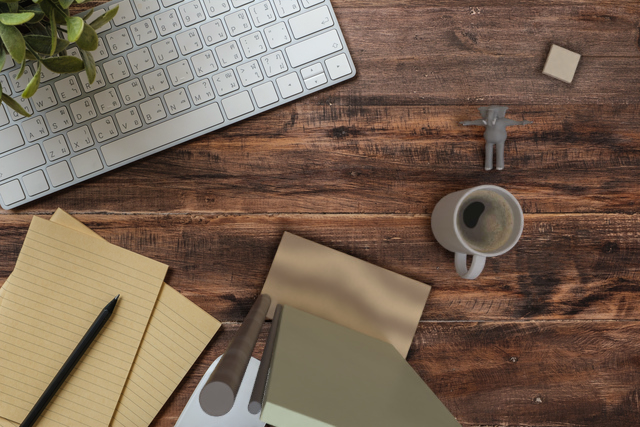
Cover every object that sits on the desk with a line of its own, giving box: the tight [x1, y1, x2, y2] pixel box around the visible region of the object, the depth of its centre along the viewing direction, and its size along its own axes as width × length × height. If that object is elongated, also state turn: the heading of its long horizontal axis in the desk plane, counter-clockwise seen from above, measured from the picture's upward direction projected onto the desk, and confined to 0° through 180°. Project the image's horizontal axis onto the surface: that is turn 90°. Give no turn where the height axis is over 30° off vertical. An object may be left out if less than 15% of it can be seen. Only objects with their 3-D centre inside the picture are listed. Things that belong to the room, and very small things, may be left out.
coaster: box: [541, 43, 582, 84], centre depth 70 cm, size 4×4×1 cm
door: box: [247, 304, 463, 427], centre depth 47 cm, size 2×17×38 cm, turn 69°
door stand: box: [198, 230, 432, 418], centre depth 47 cm, size 12×22×40 cm, turn 69°
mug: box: [430, 184, 525, 280], centre depth 64 cm, size 11×10×10 cm
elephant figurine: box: [458, 104, 534, 171], centre depth 67 cm, size 10×6×9 cm
